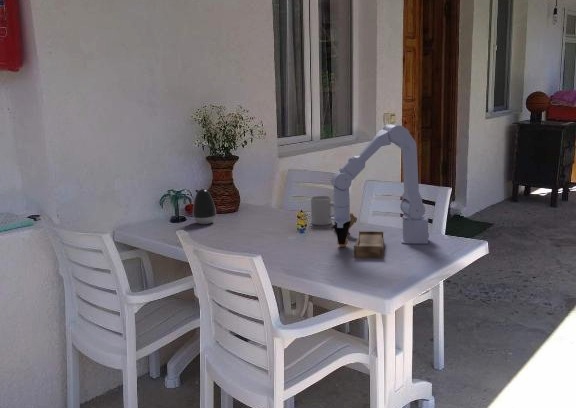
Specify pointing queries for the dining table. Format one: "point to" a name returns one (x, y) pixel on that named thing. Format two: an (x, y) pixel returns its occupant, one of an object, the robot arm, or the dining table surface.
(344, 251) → the dining table surface
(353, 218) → the lion figurine
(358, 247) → the wooden shadow box
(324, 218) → the mug
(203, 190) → the dark egg-shaped device
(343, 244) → the ball
